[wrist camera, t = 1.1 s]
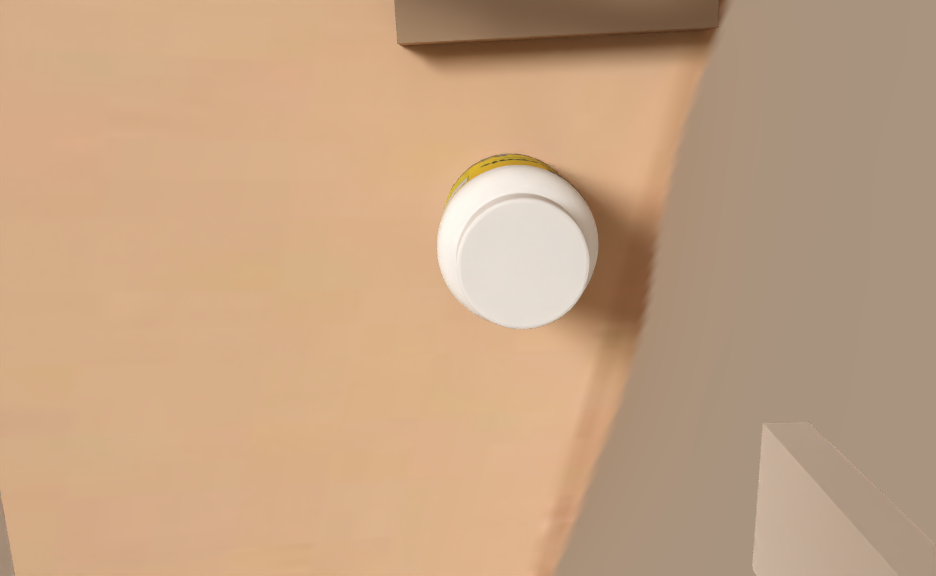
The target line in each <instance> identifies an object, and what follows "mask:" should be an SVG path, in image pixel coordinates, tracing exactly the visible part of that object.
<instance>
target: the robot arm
mask: <svg viewBox="0 0 936 576" xmlns="http://www.w3.org/2000/svg"><path fill="white" fill-rule="evenodd" d="M757 497H758V498H757V510H756V524H755V538H754V552H753V566H752V568H753V570H754V572H755V574H756V575H757V576H936V545H935V544H934V543H933V542H932V541H931V540H930V539H929V538H928V537H927V536H926V535H925V534H924V533H923V532H922V531H921V530H920V529H919V528H918V527H917V526H916V525H915V524H914V523H913V522H912V521H911V520H910V519H909V518H907V517H906V516H905V515H904V514H903V513H902V512H901V511H900V510H899V509H898V508H897V507H896V506H895V505H894V504H893V503H892V502H891V501H890V500H889V499H888V498H887V497H886V496H885V495H884V494H883V493H882V492H881V491H879V489H877V488H876V487H875V486H874V485H873V484H872V483H871V482H870V481H869V480H868V479H867V478H866V477H865V476H864V475H863V474H862V473H861V472H860V471H859V470H858V469H857V468H856V467H855V466H854V465H853V464H852V463H851V462H850V461H849V460H848V459H846V458H845V457H844V456H843V455H842V454H841V453H840V452H839V451H838V450H837V449H836V448H835V447H834V446H833V445H832V444H831V443H830V442H829V441H828V440H827V439H826V438H825V437H824V436H823V435H822V434H821V433H820V432H819V431H817V430H816V429H815V428H814V427H813V426H812V425H811V424H810V423H809V422H770V423H763V428H762V441H761V456H760V469H759V482H758V496H757ZM0 576H15V573H14V567H13V561H12V556H11V550H10V544H9V539H8V533H7V527H6V521H5V516H4V510H3V504H2V499H1V493H0Z"/></svg>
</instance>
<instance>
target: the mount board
mask: <svg viewBox="0 0 936 576" xmlns="http://www.w3.org/2000/svg"><path fill="white" fill-rule="evenodd" d="M394 1H395V16H396V30H397V44H399V45H401V46H406V45H426V44H445V43H465V42H484V41H504V40H523V39H543V38H562V37H582V36H602V35H621V34H641V33H660V32H680V31H699V30H709V29H713V28H716V27H718V16H719V0H394Z"/></svg>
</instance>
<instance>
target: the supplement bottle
mask: <svg viewBox="0 0 936 576" xmlns="http://www.w3.org/2000/svg"><path fill="white" fill-rule="evenodd" d="M598 247H599V245H598V232H597V227H596V223H595V220H594V217H593V215H592V213H591V210H590V209H589V207H588V205H587V203H586V202H585V200H584V199H583V197H582V196H581V194H580V193H579V192H578V191H577V190H576V189H575V188H574V187H573V186H572V185H571V184H570V183H569V182H568V181H567V180H565V179H564V178H562V177H561V176H560V175H559V173H558V172H556V171H555V170H554V169H552V168H551V167H550V166H548V165H547V164H545V163H543V162H542V161H540V160H537V159H535V158H532V157H530V156H526V155H521V154H500V155H495V156H491V157H488V158H485V159H483V160H481V161H479V162H477V163H476V164H474V165H473V166H471V167H470V168H469V169H467V170H466V171H465V172H464V173H463V174H462V175H461V177H460V178H459V179H458V180H457V182H456V183H455V184H454V185H453V187H452V189H451V191H450V193H449V196H448V198H447V201H446V204H445V207H444V211H443V215H442V218H441V222H440V226H439V230H438V237H437V253H438V261H439V266H440V270H441V272H442V275H443V278H444V280H445V282H446V284H447V286H448V287H449V289H450V291H451V292H452V294H453V295H454V296H455V297H456V299H457V300H458V301H459V302H460V303H461V304H462V305H463V306H465V307H466V308H467V309H468V310H469V311H471V312H472V313H474V314H475V315H477V316H479V317H481V318H483V319H485V320H488V321H491V322H493V323H495V324H498V325H500V326H504V327H508V328H513V329H532V328H537V327H541V326H545V325H547V324H550V323H552V322H554V321H556V320H558V319H559V318H561V317H562V316H564V315H565V314H566V313H567V312H568V311H570V310H571V309H572V308H573V306H574V305H575V304H576V303H577V301H578V300H579V299H580V297H581V296H582V294H583V292H584V290H585V289H586V287H587V285H588V283H589V282H590V279H591V277H592V275H593V272H594V269H595V265H596V262H597V257H598Z"/></svg>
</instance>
